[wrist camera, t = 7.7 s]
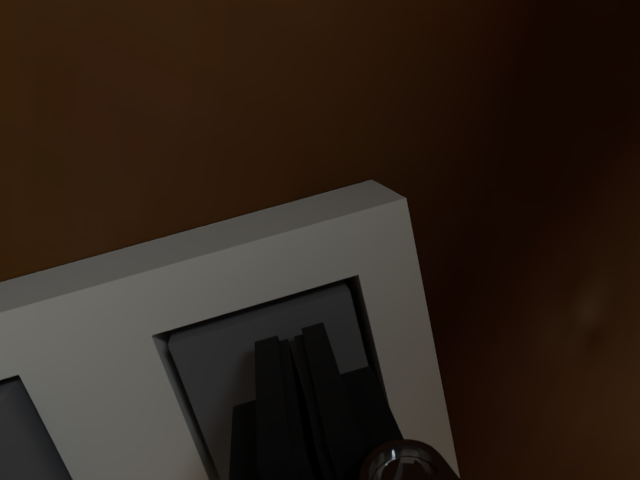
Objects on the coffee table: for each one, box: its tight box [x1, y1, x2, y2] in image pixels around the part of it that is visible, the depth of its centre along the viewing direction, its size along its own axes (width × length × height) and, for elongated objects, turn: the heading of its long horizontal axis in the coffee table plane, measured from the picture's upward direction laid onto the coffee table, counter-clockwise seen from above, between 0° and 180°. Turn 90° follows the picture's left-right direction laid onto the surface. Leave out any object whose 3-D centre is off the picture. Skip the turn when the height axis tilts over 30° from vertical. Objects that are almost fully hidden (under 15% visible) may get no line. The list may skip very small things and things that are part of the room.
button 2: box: [168, 279, 368, 480], centre depth 13 cm, size 4×4×3 cm
